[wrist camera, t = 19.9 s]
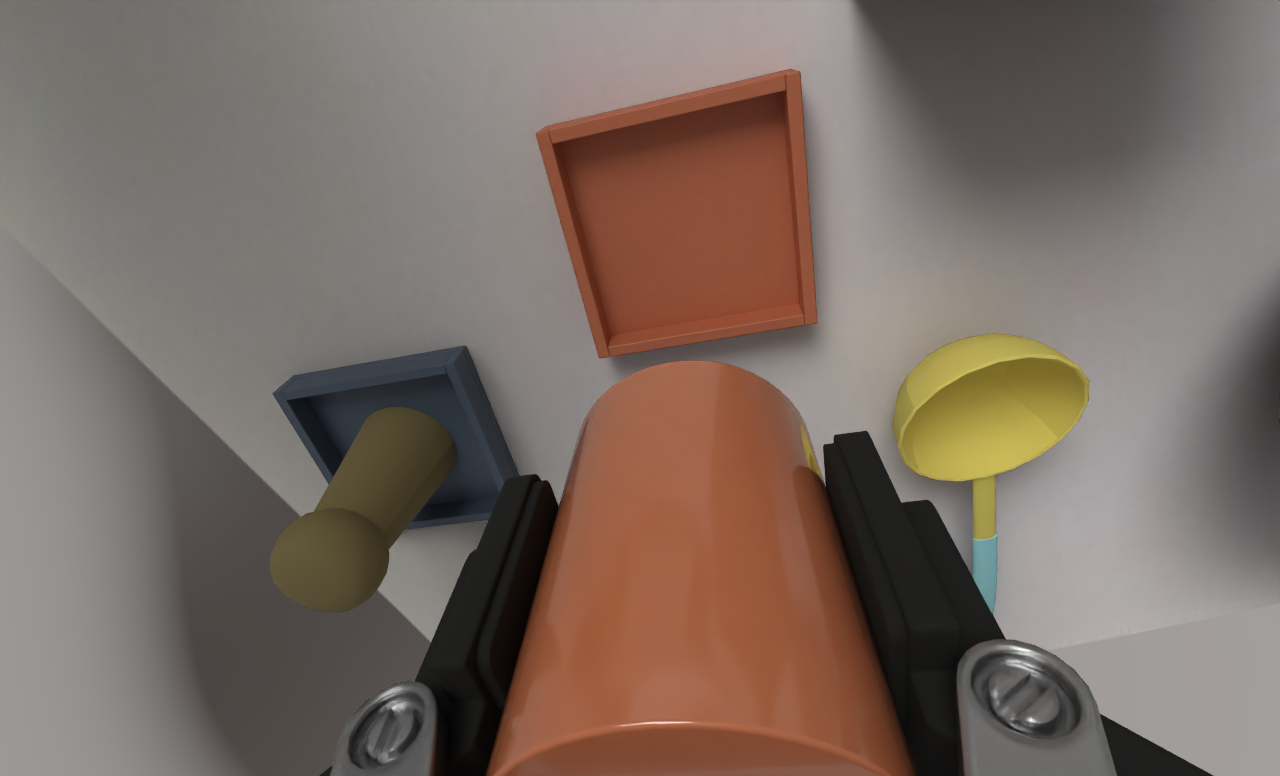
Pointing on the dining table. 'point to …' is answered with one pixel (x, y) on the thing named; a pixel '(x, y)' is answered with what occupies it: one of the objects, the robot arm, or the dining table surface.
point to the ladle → (986, 421)
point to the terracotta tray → (688, 215)
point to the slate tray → (424, 382)
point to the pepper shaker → (363, 511)
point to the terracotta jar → (697, 600)
